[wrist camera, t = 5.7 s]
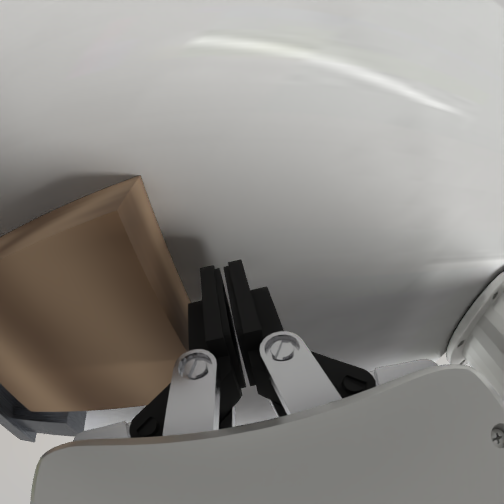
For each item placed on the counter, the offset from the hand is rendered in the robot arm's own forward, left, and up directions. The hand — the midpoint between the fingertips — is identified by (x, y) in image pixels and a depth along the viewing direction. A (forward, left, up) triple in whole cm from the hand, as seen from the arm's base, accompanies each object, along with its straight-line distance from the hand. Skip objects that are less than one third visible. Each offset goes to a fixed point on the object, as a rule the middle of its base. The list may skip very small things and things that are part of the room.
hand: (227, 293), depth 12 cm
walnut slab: (+8, 0, -2) cm, 8 cm away
